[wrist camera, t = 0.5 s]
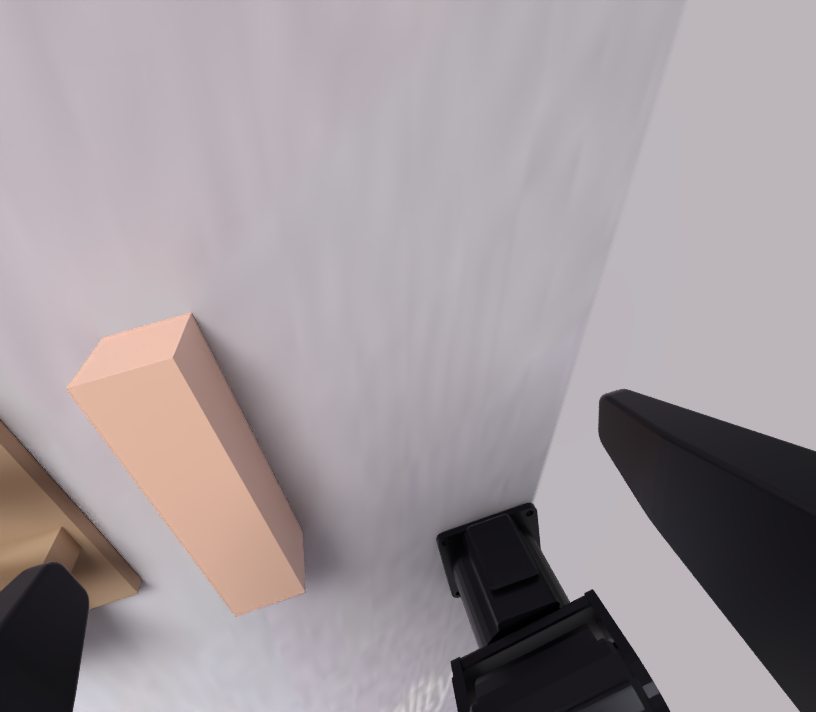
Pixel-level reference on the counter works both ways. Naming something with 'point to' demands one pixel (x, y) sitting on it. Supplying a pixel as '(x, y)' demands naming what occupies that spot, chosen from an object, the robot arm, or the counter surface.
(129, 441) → the long rectangular block
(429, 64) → the counter surface
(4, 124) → the counter surface
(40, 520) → the rack
